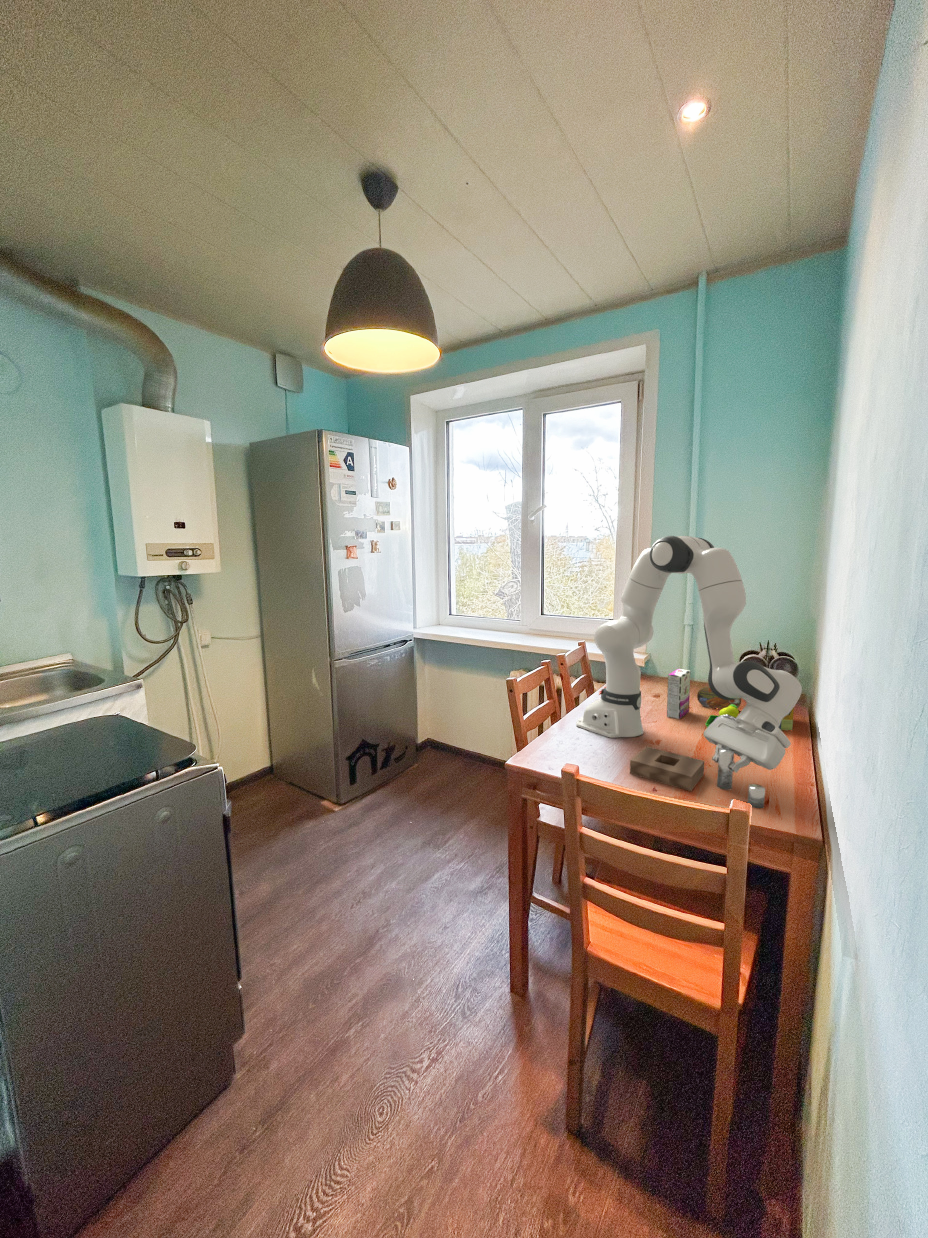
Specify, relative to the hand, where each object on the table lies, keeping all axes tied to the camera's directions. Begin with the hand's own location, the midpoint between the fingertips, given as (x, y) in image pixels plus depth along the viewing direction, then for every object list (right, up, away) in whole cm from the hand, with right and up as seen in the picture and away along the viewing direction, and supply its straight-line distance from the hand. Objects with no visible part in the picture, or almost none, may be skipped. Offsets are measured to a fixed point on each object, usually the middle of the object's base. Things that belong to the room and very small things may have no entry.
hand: (723, 765), depth 124 cm
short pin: (+3, -7, -8) cm, 11 cm away
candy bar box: (+13, +2, +56) cm, 58 cm away
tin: (+32, +3, +62) cm, 70 cm away
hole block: (-11, -5, +9) cm, 15 cm away
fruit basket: (+18, -1, +35) cm, 39 cm away
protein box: (+41, +1, +47) cm, 62 cm away
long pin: (+1, -6, +1) cm, 6 cm away
